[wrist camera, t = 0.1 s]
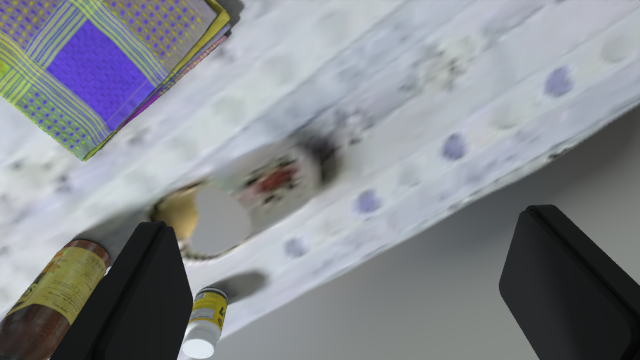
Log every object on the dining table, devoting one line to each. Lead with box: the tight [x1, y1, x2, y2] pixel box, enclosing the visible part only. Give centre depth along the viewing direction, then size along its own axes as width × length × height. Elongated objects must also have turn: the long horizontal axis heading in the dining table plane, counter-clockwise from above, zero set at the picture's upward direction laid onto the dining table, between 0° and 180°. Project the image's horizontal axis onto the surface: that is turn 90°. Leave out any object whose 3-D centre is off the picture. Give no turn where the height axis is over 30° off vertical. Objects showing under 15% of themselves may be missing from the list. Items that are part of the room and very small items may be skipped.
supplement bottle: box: [183, 288, 228, 359], centre depth 51 cm, size 5×5×8 cm
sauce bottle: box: [0, 240, 110, 360], centre depth 41 cm, size 7×6×20 cm
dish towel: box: [0, 0, 231, 162], centre depth 35 cm, size 18×24×3 cm
